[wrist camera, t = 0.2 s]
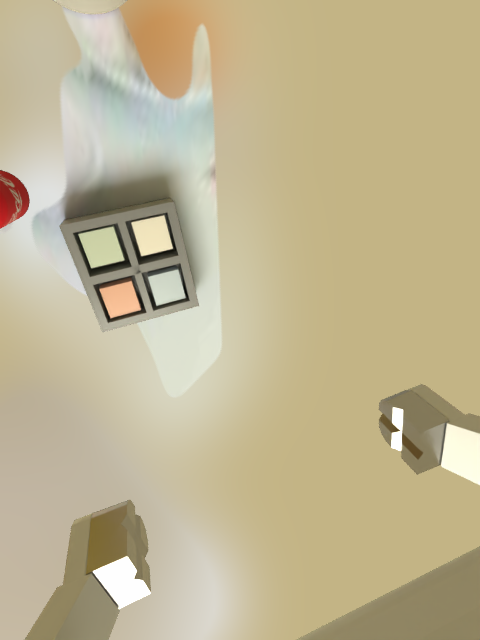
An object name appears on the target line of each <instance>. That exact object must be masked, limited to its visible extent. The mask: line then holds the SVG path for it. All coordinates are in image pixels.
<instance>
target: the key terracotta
mask: <svg viewBox="0 0 480 640" xmlns="http://www.w3.org/2000/svg"><path fill="white" fill-rule="evenodd" d="M100 292H101V295H102V297H103V300H104V302H105V305H106V308H107V310H108V313H109V315H110V318H113V317H117V316H121V315H125V314H128V313H132V312H136V311H140V310H141V305H140V302H139V299H138V296H137V293H136V290H135V287H134V284H133V281H132V278H131V277H129V278H125V279H121V280H117V281H113V282H109V283H105V284H101V285H100Z"/></svg>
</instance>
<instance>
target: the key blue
mask: <svg viewBox="0 0 480 640" xmlns="http://www.w3.org/2000/svg"><path fill="white" fill-rule="evenodd" d="M147 275H148V279H149V283H150V286H151V289H152V292H153V296H154V299H155V302H156V305H157V306H158V305H162V304H166V303H169V302H173V301H177V300H180V299H184V298H186V297H185V293H184V290H183V286H182V282H181V278H180V274H179V270H178V268H177V266H173V267H169V268H165V269H161V270H157V271H153V272H149V273H147Z"/></svg>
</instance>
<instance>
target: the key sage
mask: <svg viewBox="0 0 480 640" xmlns="http://www.w3.org/2000/svg"><path fill="white" fill-rule="evenodd" d="M78 235H79V237H80V240H81V243H82V245H83V248H84V250H85V253H86V256H87V258H88V261H89V263H90V266H91V268H94V267H99V266H103V265H107V264H111V263H115V262H119V261H124V260H125V257H124V254H123V251H122V248H121V244H120V241H119V238H118V235H117V232H116V229H115V226H114V224H112V225H107V226H102V227H98V228H93V229H89V230H84V231H80V232H79V234H78Z"/></svg>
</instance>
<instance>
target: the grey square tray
mask: <svg viewBox="0 0 480 640" xmlns="http://www.w3.org/2000/svg"><path fill="white" fill-rule="evenodd" d="M162 213H163V214H164V216H165V220H166V224H167V228H168V232H169V235H170V239H171V243H172V247H173V249H170V250H166V251H161V252H157V253H153V254H149V255H145V256H141V253H140V250H139V247H138V243H137V240H136V237H135V234H134V230H133V227H132V224H131V220H135V219H139V218H144V217H148V216H153V215H158V214H162ZM112 224H114V226H115V229H116V232H117V235H118V238H119V241H120V244H121V248H122V251H123V254H124V257H125V260H124V261H119V262H115V263H111V264H107V265H103V266H99V267H94V268H91V266H90V263H89V261H88V258H87V256H86V253H85V250H84V248H83V245H82V243H81V240H80V237H79V235H78V234H79V232H80V231H84V230H89V229H93V228H98V227H102V226H107V225H112ZM60 229H61V231H62V234H63V236H64V239H65V241H66V244H67V246H68V249H69V251H70V253H71V256H72V258H73V261H74V263H75V266H76V268H77V271H78V273H79V276H80V278H81V281H82V283H83V285H84V288H85V290H86V293H87V295H88V298H89V300H90V303H91V305H92V307H93V310H94V313H95V315H96V317H97V320H98V322H99V325H100V327H101V330H102V332H105V331H109V330H113V329H116V328H120V327H123V326H127V325H131V324H134V323H138V322H142V321H145V320H149V319H153V318H156V317H160V316H164V315H167V314H171V313H174V312H178V311H182V310H185V309H189V308H193V307H196V306H199V303H198V299H197V295H196V291H195V287H194V283H193V278H192V274H191V270H190V266H189V262H188V258H187V254H186V249H185V245H184V241H183V237H182V233H181V229H180V224H179V220H178V216H177V212H176V208H175V204H174V201H173V200H172V199H171V198H167V199H162V200H157V201H152V202H148V203H143V204H138V205H133V206H129V207H124V208H119V209H114V210H110V211H105V212H100V213H95V214H91V215H86V216H81V217H76V218H71V219H67V220H64V221H63V222H62V223H61V225H60ZM173 266H177V268H178V270H179V274H180V278H181V282H182V286H183V290H184V293H185V297H186V298H184V299H180V300H177V301H173V302H169V303H166V304H162V305H158V306H157V305H156V302H155V299H154V296H153V292H152V289H151V286H150V283H149V279H148V275H147V273H149V272H153V271H157V270H161V269H165V268H169V267H173ZM129 277H131V278H132V281H133V284H134V287H135V290H136V293H137V296H138V299H139V302H140V305H141V310H140V311H136V312H132V313H128V314H125V315H121V316H117V317H113V318H110V315H109V313H108V310H107V308H106V305H105V302H104V300H103V297H102V295H101V292H100V285H101V284H105V283H109V282H113V281H117V280H121V279H125V278H129Z"/></svg>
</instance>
